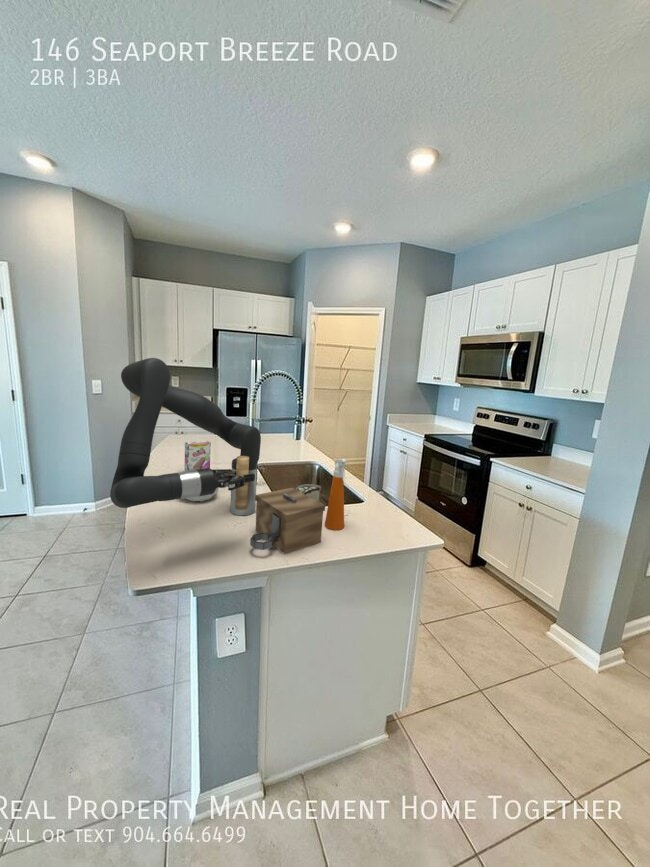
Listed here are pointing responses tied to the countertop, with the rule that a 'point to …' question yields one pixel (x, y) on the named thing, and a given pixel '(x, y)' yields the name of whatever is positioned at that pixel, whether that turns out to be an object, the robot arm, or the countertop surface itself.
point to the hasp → (267, 535)
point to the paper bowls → (203, 497)
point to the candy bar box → (197, 455)
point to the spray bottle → (336, 498)
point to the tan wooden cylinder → (243, 491)
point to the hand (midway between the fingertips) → (250, 475)
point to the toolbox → (290, 518)
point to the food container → (310, 490)
